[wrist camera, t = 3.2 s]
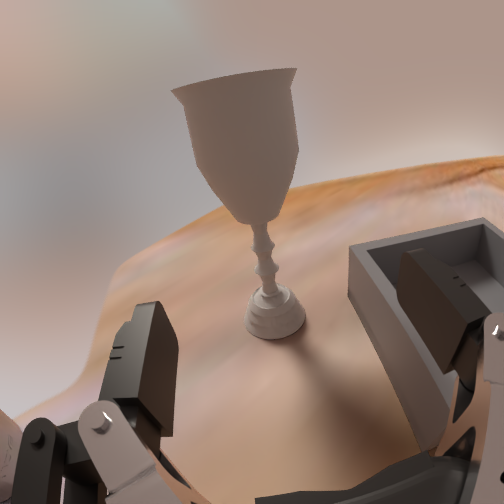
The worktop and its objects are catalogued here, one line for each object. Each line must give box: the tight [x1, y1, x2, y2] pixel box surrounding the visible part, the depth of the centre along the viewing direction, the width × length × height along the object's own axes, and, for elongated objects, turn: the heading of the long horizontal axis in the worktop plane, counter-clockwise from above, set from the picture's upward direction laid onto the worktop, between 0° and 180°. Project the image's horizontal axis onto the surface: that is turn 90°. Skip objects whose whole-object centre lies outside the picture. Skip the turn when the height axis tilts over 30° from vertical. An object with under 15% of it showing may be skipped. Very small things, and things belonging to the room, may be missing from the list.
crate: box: [348, 218, 504, 452], centre depth 17 cm, size 15×15×5 cm
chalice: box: [171, 68, 306, 339], centre depth 20 cm, size 7×7×18 cm
